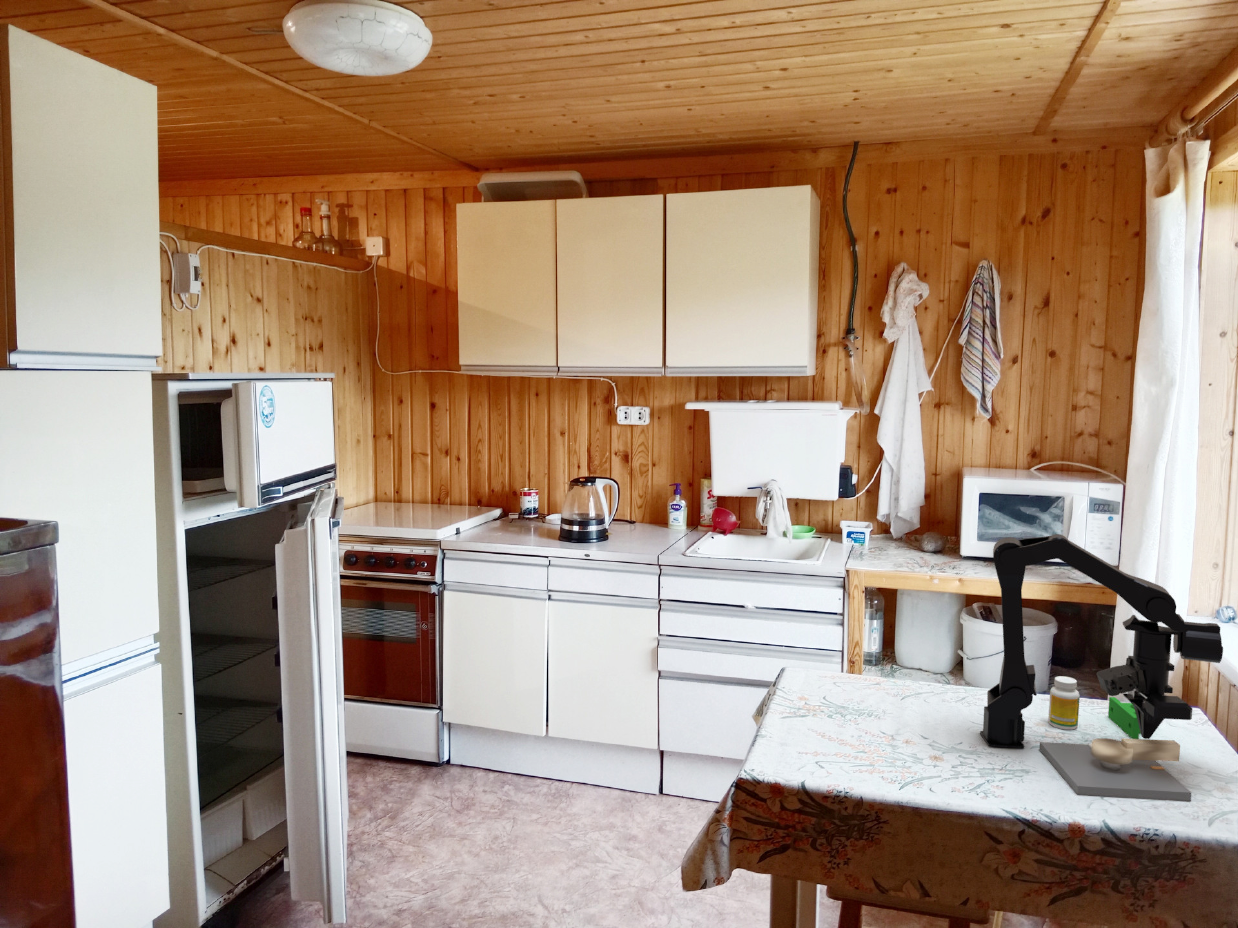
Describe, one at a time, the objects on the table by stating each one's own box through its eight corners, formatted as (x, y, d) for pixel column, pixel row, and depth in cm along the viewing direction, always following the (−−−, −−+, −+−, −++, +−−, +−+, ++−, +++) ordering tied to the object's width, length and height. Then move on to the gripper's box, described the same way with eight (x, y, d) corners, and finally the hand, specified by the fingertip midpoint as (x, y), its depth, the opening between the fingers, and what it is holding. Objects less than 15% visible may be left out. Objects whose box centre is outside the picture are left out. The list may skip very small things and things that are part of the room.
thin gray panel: (1077, 794, 148) (1078, 777, 148) (1039, 749, 166) (1040, 734, 166) (1190, 800, 146) (1192, 783, 146) (1140, 754, 164) (1141, 739, 164)
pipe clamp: (1152, 741, 171) (1154, 718, 170) (1132, 740, 171) (1134, 717, 171) (1126, 718, 182) (1128, 697, 181) (1107, 717, 182) (1109, 696, 182)
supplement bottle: (1045, 718, 181) (1047, 673, 180) (1072, 720, 180) (1075, 675, 179) (1052, 729, 176) (1055, 682, 175) (1081, 731, 175) (1084, 684, 174)
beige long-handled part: (1101, 763, 153) (1102, 747, 153) (1084, 748, 159) (1085, 732, 159) (1186, 766, 152) (1187, 750, 152) (1166, 751, 158) (1167, 735, 158)
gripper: (1083, 637, 169) (1078, 715, 170) (1127, 670, 150) (1121, 757, 152) (1145, 640, 167) (1139, 718, 169) (1197, 673, 149) (1190, 761, 151)
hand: (1145, 737), depth 160 cm, fingers closed
